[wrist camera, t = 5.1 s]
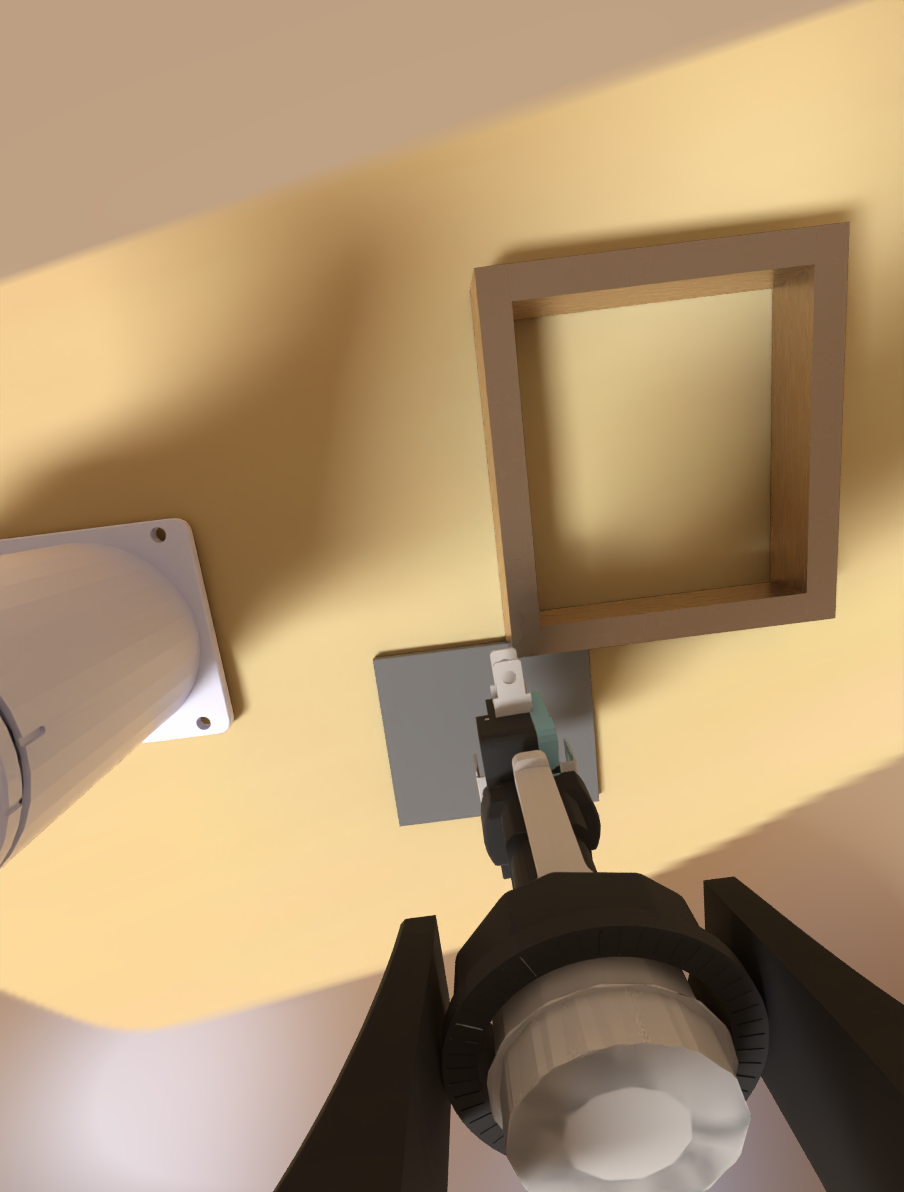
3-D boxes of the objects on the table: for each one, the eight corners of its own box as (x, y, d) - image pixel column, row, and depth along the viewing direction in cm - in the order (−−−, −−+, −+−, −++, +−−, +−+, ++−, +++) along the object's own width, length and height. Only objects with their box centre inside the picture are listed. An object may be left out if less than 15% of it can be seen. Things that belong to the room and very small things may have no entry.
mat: (400, 821, 21) (399, 826, 21) (373, 657, 20) (372, 660, 20) (596, 796, 21) (599, 800, 21) (585, 631, 20) (587, 633, 20)
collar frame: (506, 641, 20) (513, 658, 18) (469, 291, 17) (474, 267, 15) (796, 604, 20) (835, 618, 18) (803, 250, 17) (849, 221, 15)
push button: (417, 657, 16) (390, 946, 7) (588, 627, 16) (812, 877, 7) (453, 838, 18) (474, 1280, 8) (609, 812, 18) (812, 1227, 8)
